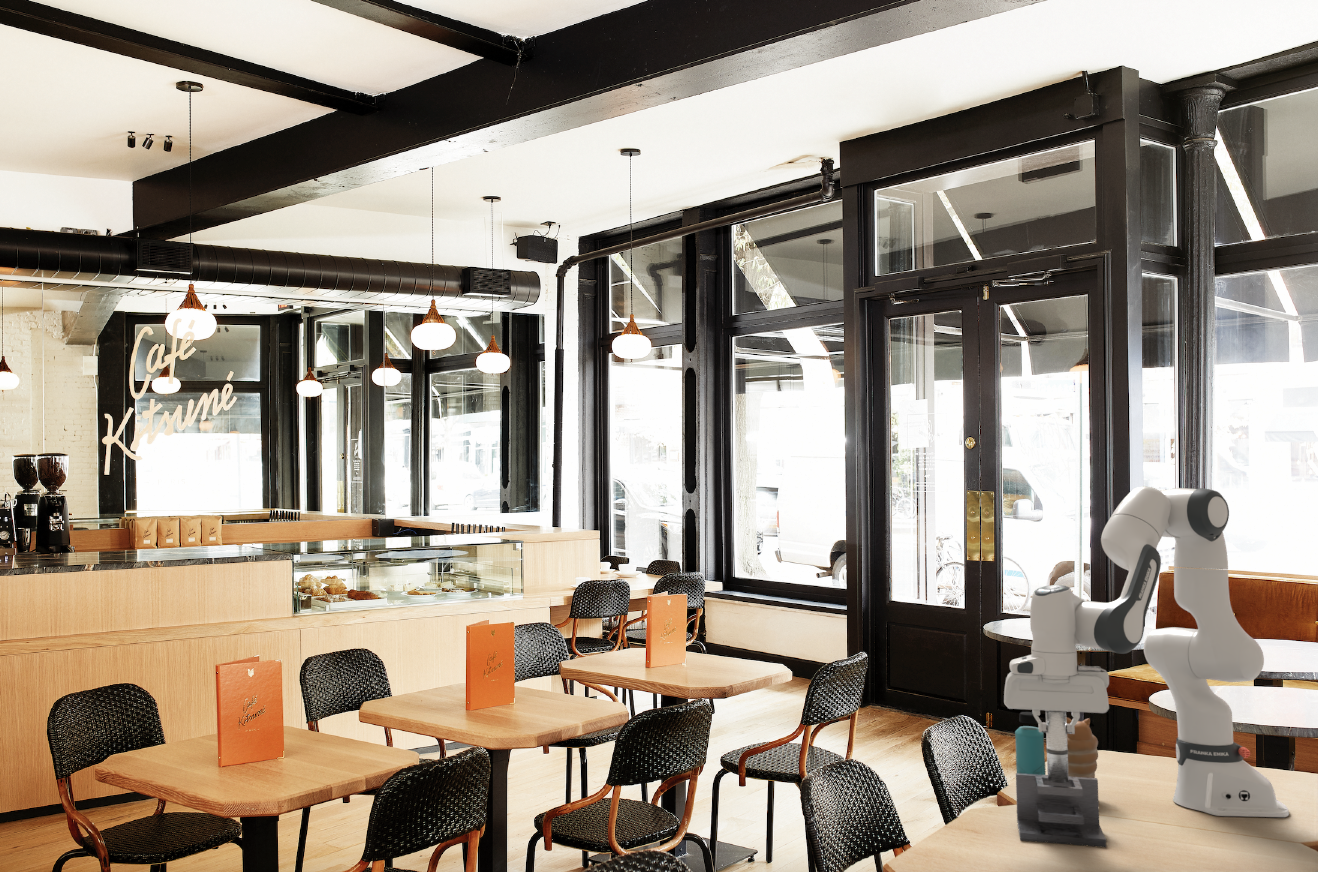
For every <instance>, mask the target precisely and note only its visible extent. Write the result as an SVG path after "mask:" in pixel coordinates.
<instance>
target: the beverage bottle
mask: <svg viewBox="0 0 1318 872" xmlns="http://www.w3.org/2000/svg"><path fill="white" fill-rule="evenodd" d="M1018 721H1019V723H1023V724H1028V725H1023V726H1019V727H1018V728H1017V729H1016V730H1015V731H1014V736H1015V765H1016V766H1015V768H1016V773H1024V774H1040V775H1046V773H1047V769H1046V768H1047V765H1046V758H1045V757H1046V753H1045V741H1044V738H1045V737H1044V736H1045V735H1044V733H1045V732H1039V727H1036V726H1031V725H1033V724H1035V725H1036V724H1038V722H1037V721H1036V719H1035V717H1034V716H1033V713H1032V711H1031V712H1030V711H1021V712H1020V713H1019V719H1018ZM1029 725H1030V726H1029Z"/></svg>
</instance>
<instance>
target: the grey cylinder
mask: <svg viewBox="0 0 1318 872" xmlns="http://www.w3.org/2000/svg"><path fill="white" fill-rule="evenodd" d="M1066 717H1067V711H1048V710H1045V723H1046V729H1047V732H1045V734H1046V737H1045V738H1046V747H1045V749H1046V768H1047V769H1046V773H1047V775H1048V780H1049V781H1051V782H1056V783H1066V782H1069V778H1068V749H1067V719H1066Z"/></svg>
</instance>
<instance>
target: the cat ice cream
mask: <svg viewBox="0 0 1318 872" xmlns="http://www.w3.org/2000/svg"><path fill="white" fill-rule="evenodd" d="M1066 719H1067V724H1070V723H1071V721H1072V719H1071V718H1070V717H1067V716H1066ZM1090 724H1091V718H1090V717H1089V718H1085V719H1084V720H1081V721H1080V720H1078V722H1077V723H1076V725H1075V726H1074V728H1075V734H1067V749H1068V776H1071V777H1087V778H1096V771H1097V768H1098V763H1097V760H1098V759H1099V751H1098V749H1097V747H1098V745H1099V741H1098V738H1097V737H1096V736H1095V735H1094V734H1093V733H1092V729H1091V727H1090Z"/></svg>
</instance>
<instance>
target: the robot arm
mask: <svg viewBox="0 0 1318 872" xmlns="http://www.w3.org/2000/svg"><path fill="white" fill-rule="evenodd" d="M1229 517H1230V509H1229V505H1228V502H1227V500H1226V499H1225V498H1224V496H1223V495H1222V494H1221V493H1220V492H1219V491H1216V490H1214V489H1209V488H1203V487H1200V488H1186V487H1185V488H1183V487H1175V488H1170V489H1157V488H1154V487H1152V486H1144V485H1143V486H1138V487H1134V488H1132V489H1131V490H1130V492H1128V493H1127V495H1126V496H1125V497H1124V498H1123V499H1122V500H1121V501H1120V503H1119V504H1118V505H1117V507H1116V509H1114V511H1113V513H1112V514H1111V516H1110V518H1109V519H1108V521H1107V522H1106V524H1105V526H1104V527H1103V530H1102V533H1101V536H1100V537H1101V538H1100V543H1101V547H1102V550H1103V551H1104V553H1105V555H1106V557H1108V558H1109V559H1110V561H1112V562H1113V563H1114V564H1115V565H1117V566H1118V567H1120V568H1122V569H1124V570H1127V571H1128V574H1127V576H1126V580H1125V581H1124V585H1123V587H1122V590H1121V593H1120V596H1119V597H1118V598H1117V599H1115V600H1113V601H1109V602H1104V601H1103V602H1102V601H1101V602H1100V601H1091V600H1086V599H1084V598H1081V597H1079V596H1078V595H1076V594H1074V592H1072V589H1071V588H1070V587H1069V586H1067V585H1062V584H1053V585H1052V584H1051V585H1045V586H1040V587H1038V588H1037V589H1035V590H1034V592H1033V593H1032V597H1031V602H1030V609H1029V610H1030V613H1029V614H1030V615H1029V616H1030V620H1029V621H1030V622H1029V623H1030V631H1031V634H1032V643H1031V645H1030V646H1031V647H1030V649H1031V652H1030V653H1031V654H1028V655H1025V656H1021V657H1018V658H1014V659H1011V660H1010V662H1009V670H1010V672H1009V673H1007V676H1006V677H1005V682H1004V683H1005V684H1004V689H1003V690H1004V691H1003V694H1004V695H1003V703H1004V705H1005V706H1006V707H1007V709H1009V710H1013V709H1014V710H1030V711H1031V710H1032V711H1031V712H1032V713H1033V716H1034V717H1035V719H1036V721H1037V722H1038V723H1037V724H1038V727H1037V728H1039V732H1043V733H1046V732H1047V729H1046V721H1045V722H1044V721H1043V722H1042V720H1041V718H1040V717H1039V716H1040V715H1041V711H1046V710H1048V711H1066V712H1068V713H1069V712H1070V713H1071V716H1072V719H1071V720H1072V721H1071V723H1070V724H1067V734H1075V728H1074V726H1075V725H1076V723H1077V722H1078V721H1080V718H1081V713H1089V714H1090V713H1091V714H1094V713H1095V714H1106V713H1107V712H1108V711H1109V709H1110V705H1109V704H1110V702H1109V695H1108V692H1107V688H1108V687H1109V685H1110V675H1109V672H1108V671H1107V670H1106V669H1104V668H1101V666H1098V665H1094V666H1091V665H1089V666H1088V665H1078V653H1077V646H1080V647H1086V648H1090V649H1098V650H1105V651H1107V652H1111V653H1114V654H1115V653H1116V654H1120V655H1121V654H1122V655H1124V654H1125V655H1126V654H1128V653H1130V652H1131V651H1133V650H1134V649H1136V647H1137V646H1138V645H1139V644H1140V643H1141V641H1142V639H1143V637H1144V631H1145V624H1146V623H1145V622H1146V616H1147V613H1148V611H1149V606H1150V604H1151V601H1152V597H1153V594H1154V591H1155V588H1156V585H1157V582H1158V579H1159V575H1160V571H1161V565H1162V559H1161V555H1160V553H1159V551H1158V549H1157V547H1158V545H1159V543H1160V541H1161V539H1162V537H1164V538H1174V540H1175V545H1174V555H1173V558H1174V559H1173V560H1174V561H1173V589H1174V590H1173V593H1174V595H1173V596H1174V600H1175V602H1176V604H1177V605H1178V606H1179V607H1180V608H1181V609H1183V610H1184V611H1187V613H1190V614H1191V616H1192V617H1193V618H1194V619H1195V623H1196V625H1197V628H1196V629H1195V628H1185V627H1175V626H1174V627H1173V626H1172V627H1164V628H1156V629H1153V630H1151V631H1150V632H1149V633H1148V635H1147V636H1146V637H1145V640H1144V644H1143V654H1144V657H1145V660H1146V662H1147V663H1148V665H1149V666H1150V667H1151V668H1152V669H1153V670H1155V671H1156V673H1158V674H1159V675H1160V676H1161V678H1162V679H1163V680H1164V682H1165V684H1166V685H1167V687H1168V689H1169V691H1170V693H1171V695H1172V698H1173V702H1174V706H1175V712H1176V713H1175V714H1176V720H1177V721H1176V722H1177V723H1176V724H1177V738H1176V743H1175V755H1176V762H1177V764H1178V767H1177V778H1176V786H1175V791H1174V795H1173V798H1172V801H1173V802H1174V803H1175V804H1177V805H1180V806H1182V807H1185V808H1186V809H1187V808H1188V809H1192V810H1194V811H1195V810H1196V811H1201V812H1204V813H1206V814H1209V815H1211V816H1212V815H1213V816H1218V817H1255V818H1256V817H1257V818H1258V817H1261V818H1265V817H1266V818H1286V817H1288V816H1289V815H1290V813H1289V808H1288V806H1287V805H1286V804H1285V803H1283V802H1282V801H1280V800H1278V799H1277V797H1276V793H1275V789H1274V786H1273V784H1272V782H1271V781H1270V780H1269V779H1268V778H1267V777H1266V776H1265V775H1264V774H1262V772H1260V771H1259V770H1257V769H1256V768H1255V767H1254V766H1252V765H1250V764H1249V763H1248V762H1246V761H1245V760H1244V759H1247V758H1249V757H1250V756H1251V751H1250V750H1249V749H1248V748H1247V747H1245V746H1242V745H1241V744H1238V743H1237V742H1235V741H1234V732H1233V731H1234V730H1233V729H1234V727H1233V712H1232V709H1231V707H1230V705H1229V703H1228V702H1227V701H1226V700H1224V699H1223V698H1222V697H1220V696H1218V695H1217V694H1216V693H1215V692H1214V691H1213V690H1212V689H1211V687H1210V685H1209V683H1208V681H1207V680H1212V681H1220V682H1227V683H1239V682H1250V681H1251V682H1252V681H1254V680H1255V679H1256V678H1258V676H1259V675H1260V674H1261V673H1262V671H1263V668H1264V664H1265V656H1264V652H1263V650H1262V648H1261V645H1259V643H1258V642H1257V640H1256V639H1254V638H1253V637H1252V636H1250V635H1249V634H1248V633H1247V632H1246V631H1245V630H1244V628H1243V627H1242V626H1241V624H1240V623H1239V622H1238V620H1237V618H1236V616H1235V614H1234V610H1233V608H1232V605H1231V601H1230V600H1231V599H1230V597H1231V596H1230V587H1229V562H1228V561H1229V560H1228V551H1227V544H1226V540H1225V535H1224V533H1223V532H1224V531H1225V529H1226V527H1227V525H1228V522H1229V519H1230V518H1229Z"/></svg>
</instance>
